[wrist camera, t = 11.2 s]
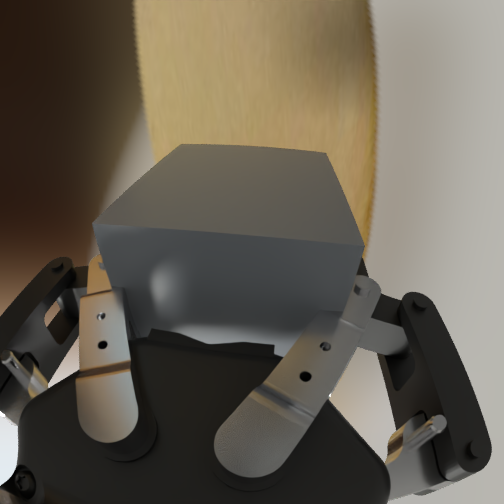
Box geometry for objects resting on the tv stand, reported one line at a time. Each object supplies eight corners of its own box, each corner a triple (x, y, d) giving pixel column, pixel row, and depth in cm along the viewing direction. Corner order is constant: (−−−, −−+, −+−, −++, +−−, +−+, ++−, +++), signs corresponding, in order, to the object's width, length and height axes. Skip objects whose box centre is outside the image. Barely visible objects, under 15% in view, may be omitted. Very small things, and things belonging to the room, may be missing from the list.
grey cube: (180, 144, 13) (92, 223, 7) (325, 152, 12) (364, 246, 6) (190, 258, 16) (144, 368, 10) (307, 269, 16) (312, 390, 10)
